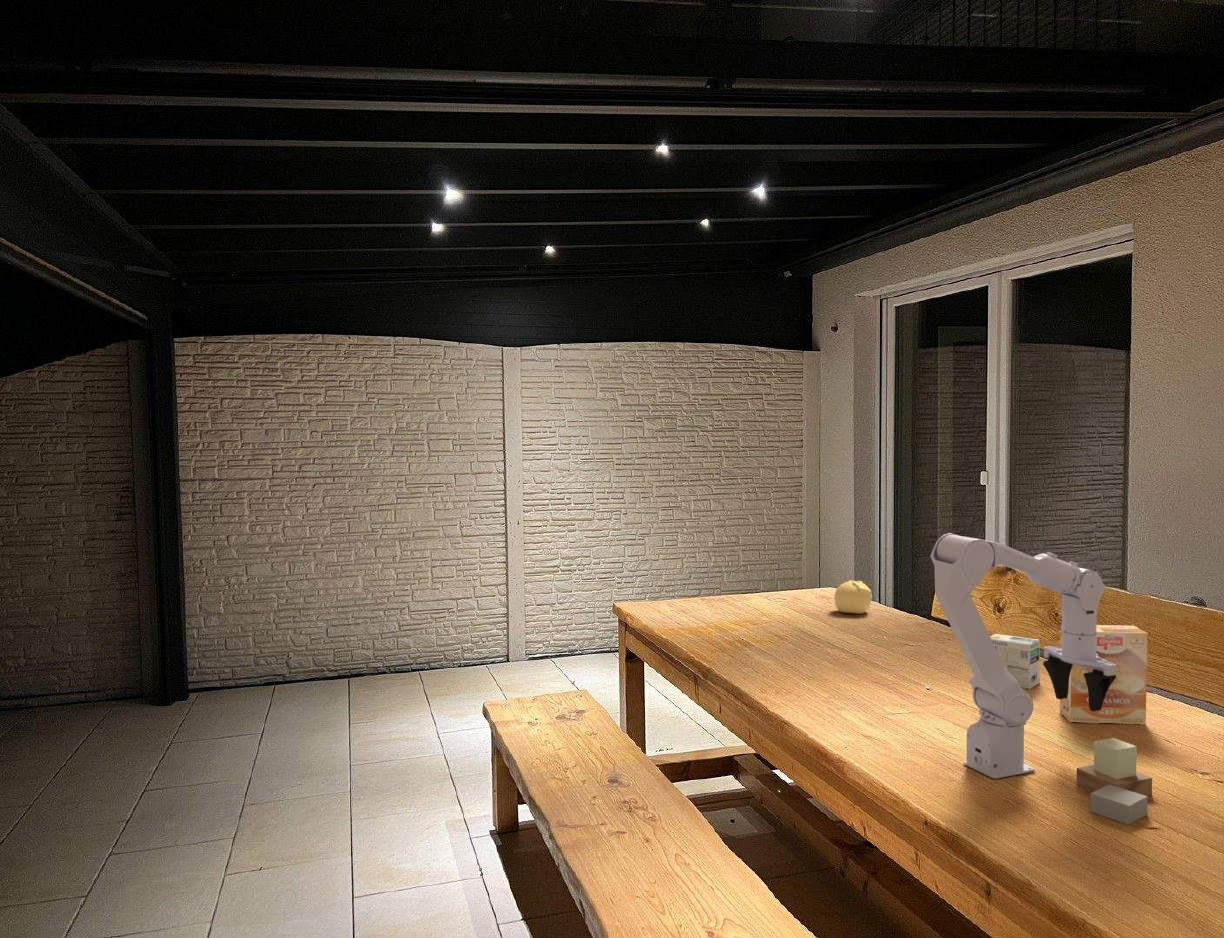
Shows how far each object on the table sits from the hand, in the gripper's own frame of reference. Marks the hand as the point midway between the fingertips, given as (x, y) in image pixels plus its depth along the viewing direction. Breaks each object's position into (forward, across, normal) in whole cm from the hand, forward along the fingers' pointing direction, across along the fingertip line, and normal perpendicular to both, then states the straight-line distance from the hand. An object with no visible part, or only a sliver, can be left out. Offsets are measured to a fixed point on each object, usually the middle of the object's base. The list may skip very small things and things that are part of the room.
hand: (1078, 704), depth 169 cm
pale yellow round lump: (+11, +125, -38) cm, 131 cm away
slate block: (+10, -20, +13) cm, 26 cm away
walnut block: (+10, -13, +6) cm, 18 cm away
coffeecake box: (+11, +15, -23) cm, 29 cm away
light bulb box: (+11, +43, -26) cm, 51 cm away
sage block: (+7, -13, +6) cm, 16 cm away
